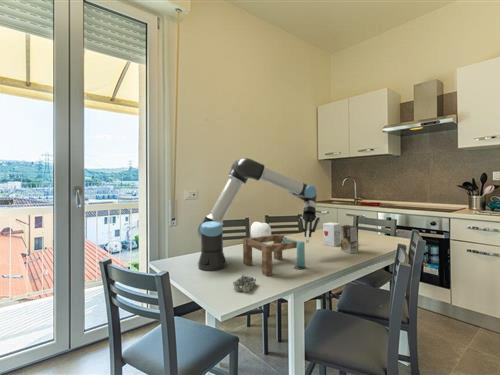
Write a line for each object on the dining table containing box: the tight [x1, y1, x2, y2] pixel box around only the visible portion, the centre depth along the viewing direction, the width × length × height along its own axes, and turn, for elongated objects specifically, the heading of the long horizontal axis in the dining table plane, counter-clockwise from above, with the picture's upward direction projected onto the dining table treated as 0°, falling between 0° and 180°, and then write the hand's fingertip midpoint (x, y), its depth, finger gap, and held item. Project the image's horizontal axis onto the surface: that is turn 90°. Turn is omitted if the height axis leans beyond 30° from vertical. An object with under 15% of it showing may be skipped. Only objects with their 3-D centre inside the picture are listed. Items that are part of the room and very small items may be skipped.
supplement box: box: [322, 222, 342, 247], centre depth 194 cm, size 9×9×15 cm
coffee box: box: [340, 224, 359, 254], centre depth 174 cm, size 9×6×16 cm
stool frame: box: [242, 233, 307, 277], centre depth 147 cm, size 25×25×14 cm
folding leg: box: [282, 236, 306, 267], centre depth 149 cm, size 16×4×13 cm, turn 32°
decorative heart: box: [250, 221, 272, 245], centre depth 191 cm, size 18×11×17 cm, turn 38°
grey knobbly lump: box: [232, 274, 257, 293], centre depth 118 cm, size 11×8×4 cm
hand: (307, 241), depth 157 cm, fingers closed
